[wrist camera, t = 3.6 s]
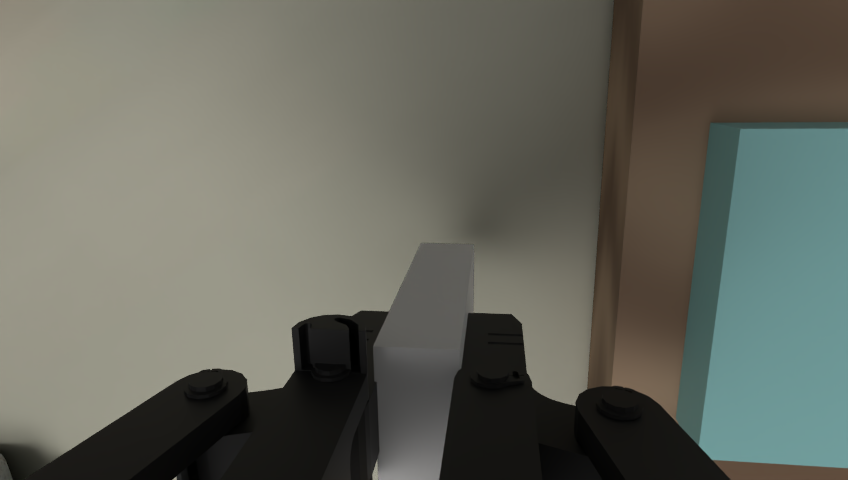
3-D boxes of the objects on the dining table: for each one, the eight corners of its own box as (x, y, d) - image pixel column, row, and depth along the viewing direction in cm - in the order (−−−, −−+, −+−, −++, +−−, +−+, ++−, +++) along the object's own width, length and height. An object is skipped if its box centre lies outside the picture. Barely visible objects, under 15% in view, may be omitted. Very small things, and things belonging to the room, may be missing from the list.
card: (710, 122, 15) (740, 128, 14) (957, 121, 15) (1025, 128, 13) (675, 418, 18) (697, 458, 16) (886, 429, 17) (935, 473, 15)
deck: (621, -101, 18) (655, -150, 14) (1139, -127, 16) (1339, -192, 12) (579, 499, 24) (595, 581, 20) (955, 526, 22) (1052, 621, 18)
